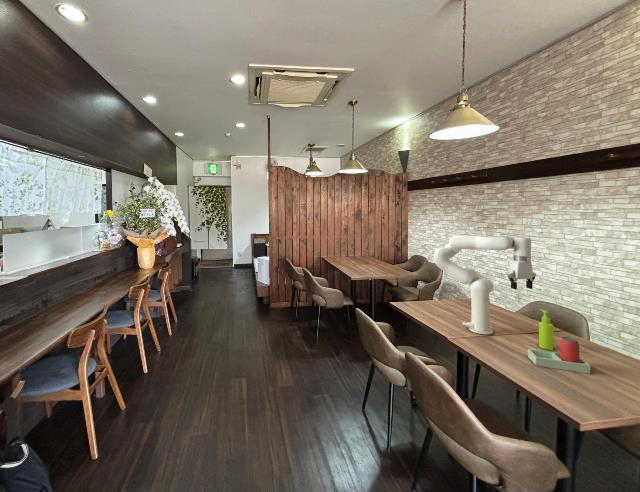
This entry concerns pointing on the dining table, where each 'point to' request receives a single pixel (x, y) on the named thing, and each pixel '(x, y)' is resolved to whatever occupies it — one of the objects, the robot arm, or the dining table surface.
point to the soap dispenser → (546, 332)
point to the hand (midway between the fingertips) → (521, 288)
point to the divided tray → (556, 361)
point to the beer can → (569, 349)
